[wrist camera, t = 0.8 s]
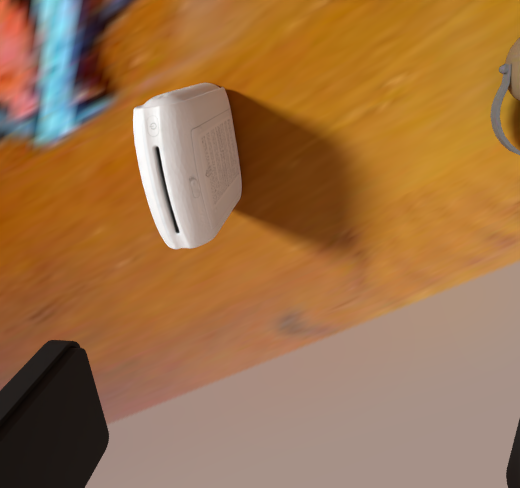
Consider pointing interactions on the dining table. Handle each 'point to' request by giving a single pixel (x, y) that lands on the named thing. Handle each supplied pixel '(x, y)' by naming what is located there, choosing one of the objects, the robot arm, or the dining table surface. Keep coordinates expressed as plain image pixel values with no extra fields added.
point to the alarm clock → (515, 80)
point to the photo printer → (188, 162)
